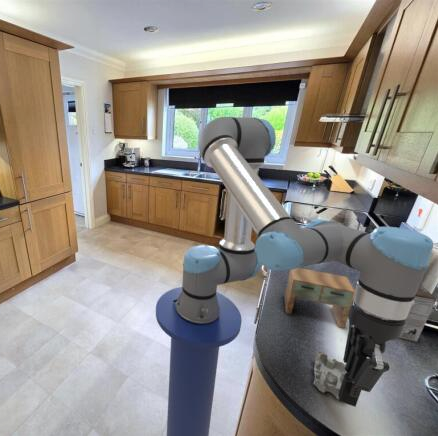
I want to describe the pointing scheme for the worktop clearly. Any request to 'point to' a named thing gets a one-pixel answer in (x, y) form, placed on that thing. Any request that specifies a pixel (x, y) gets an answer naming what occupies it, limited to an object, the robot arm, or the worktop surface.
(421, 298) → the coffee box
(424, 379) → the worktop surface
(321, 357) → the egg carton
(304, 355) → the worktop surface
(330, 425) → the worktop surface
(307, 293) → the drawer unit
